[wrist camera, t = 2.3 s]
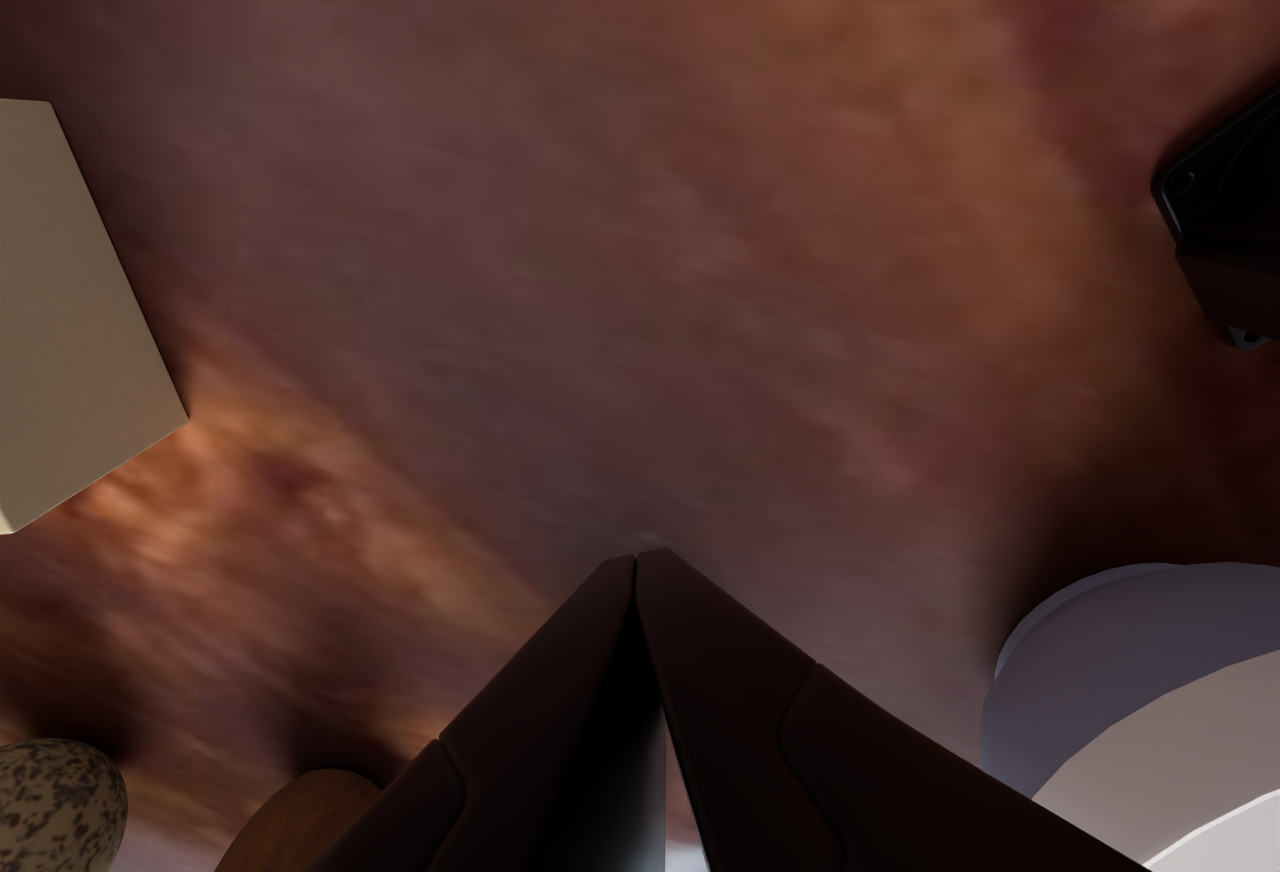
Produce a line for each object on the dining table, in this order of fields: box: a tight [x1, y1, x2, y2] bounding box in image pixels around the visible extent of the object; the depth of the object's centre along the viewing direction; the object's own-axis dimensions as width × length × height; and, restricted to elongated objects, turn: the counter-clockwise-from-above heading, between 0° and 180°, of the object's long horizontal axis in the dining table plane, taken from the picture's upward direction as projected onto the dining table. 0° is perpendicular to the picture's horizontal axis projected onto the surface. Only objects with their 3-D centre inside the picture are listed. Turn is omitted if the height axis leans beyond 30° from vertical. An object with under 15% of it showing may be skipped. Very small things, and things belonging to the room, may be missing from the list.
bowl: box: [979, 562, 1280, 872], centre depth 20 cm, size 16×16×10 cm
